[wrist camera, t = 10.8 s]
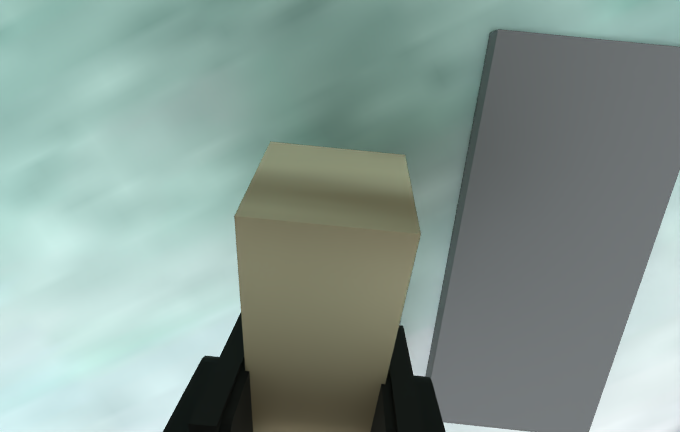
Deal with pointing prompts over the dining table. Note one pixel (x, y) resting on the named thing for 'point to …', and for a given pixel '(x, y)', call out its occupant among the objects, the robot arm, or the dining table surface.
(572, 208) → the mat
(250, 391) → the robot arm
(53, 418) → the dining table surface
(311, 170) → the turner
